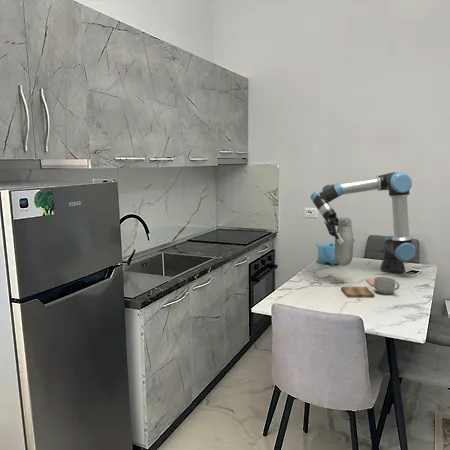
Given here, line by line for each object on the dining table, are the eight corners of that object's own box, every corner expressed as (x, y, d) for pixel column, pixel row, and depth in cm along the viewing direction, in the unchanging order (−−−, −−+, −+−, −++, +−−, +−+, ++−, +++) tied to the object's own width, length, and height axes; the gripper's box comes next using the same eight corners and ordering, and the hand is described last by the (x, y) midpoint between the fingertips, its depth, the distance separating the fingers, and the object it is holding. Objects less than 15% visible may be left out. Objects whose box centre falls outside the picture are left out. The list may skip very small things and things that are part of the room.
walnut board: (366, 289, 231) (366, 287, 231) (374, 297, 217) (374, 294, 217) (341, 289, 231) (341, 286, 231) (347, 297, 217) (347, 294, 217)
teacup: (369, 291, 228) (370, 277, 227) (384, 288, 233) (385, 274, 232) (388, 298, 216) (389, 283, 215) (404, 295, 220) (404, 281, 219)
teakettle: (347, 266, 284) (348, 245, 282) (320, 266, 283) (321, 245, 281) (339, 260, 302) (340, 240, 300) (313, 260, 302) (314, 240, 300)
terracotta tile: (385, 280, 248) (385, 279, 248) (393, 286, 236) (393, 285, 236) (365, 280, 248) (365, 279, 248) (371, 286, 237) (372, 284, 236)
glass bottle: (350, 267, 236) (352, 219, 232) (332, 265, 241) (333, 218, 237) (354, 264, 244) (355, 217, 240) (336, 262, 249) (338, 216, 245)
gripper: (336, 215, 257) (356, 243, 247) (311, 218, 245) (331, 248, 234) (343, 207, 252) (364, 236, 242) (318, 210, 240) (339, 240, 229)
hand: (348, 242), depth 238 cm, fingers closed on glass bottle, 10 cm apart
